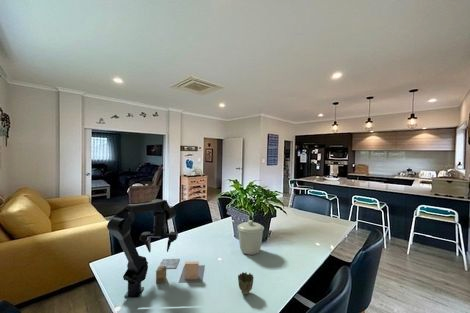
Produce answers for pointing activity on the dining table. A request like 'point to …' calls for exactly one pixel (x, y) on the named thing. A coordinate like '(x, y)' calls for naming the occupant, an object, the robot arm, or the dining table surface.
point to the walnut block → (161, 274)
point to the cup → (245, 282)
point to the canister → (250, 237)
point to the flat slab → (191, 270)
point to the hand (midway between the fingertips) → (158, 252)
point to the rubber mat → (200, 279)
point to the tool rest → (170, 263)
